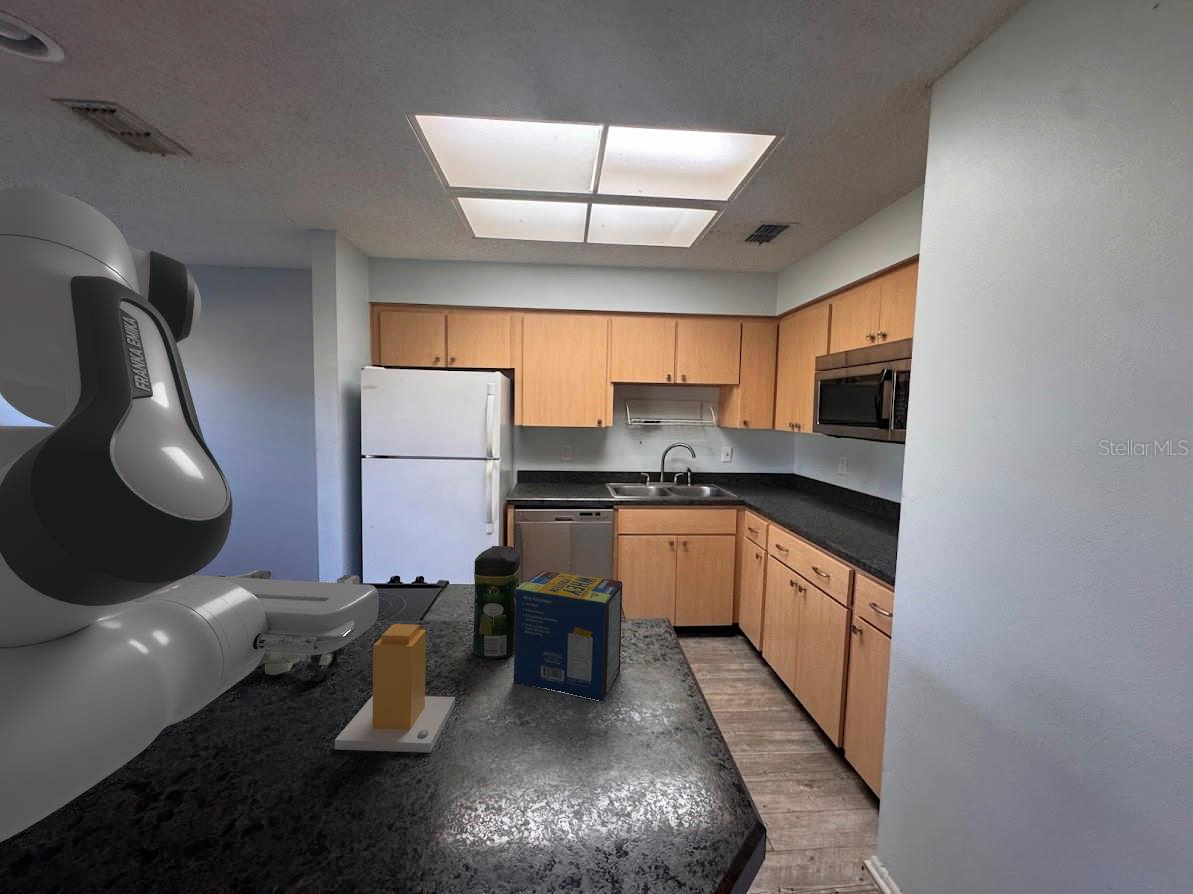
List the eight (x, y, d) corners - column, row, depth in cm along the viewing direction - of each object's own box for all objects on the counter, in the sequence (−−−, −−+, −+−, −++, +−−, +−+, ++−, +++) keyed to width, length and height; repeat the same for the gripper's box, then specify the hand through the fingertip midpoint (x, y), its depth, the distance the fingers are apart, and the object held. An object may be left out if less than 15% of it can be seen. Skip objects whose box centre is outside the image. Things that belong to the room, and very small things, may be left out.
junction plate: (334, 749, 58) (335, 692, 58) (373, 702, 68) (374, 654, 68) (430, 752, 58) (431, 696, 58) (455, 705, 68) (456, 656, 68)
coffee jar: (481, 635, 91) (483, 541, 90) (521, 637, 91) (524, 543, 90) (466, 660, 81) (469, 555, 80) (511, 662, 81) (514, 556, 80)
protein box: (538, 654, 84) (541, 569, 84) (621, 670, 79) (624, 580, 79) (511, 683, 74) (513, 588, 74) (603, 703, 70) (606, 601, 69)
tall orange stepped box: (372, 728, 60) (373, 637, 60) (389, 705, 65) (390, 621, 65) (410, 729, 60) (412, 638, 60) (424, 706, 65) (426, 622, 65)
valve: (249, 678, 74) (311, 691, 71) (249, 637, 73) (311, 648, 70) (286, 658, 80) (344, 669, 77) (287, 621, 80) (345, 630, 77)
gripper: (333, 608, 36) (406, 556, 49) (66, 593, 35) (214, 545, 49) (330, 688, 36) (404, 614, 50) (66, 673, 36) (214, 603, 50)
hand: (308, 579), depth 49 cm, fingers open, 8 cm apart
